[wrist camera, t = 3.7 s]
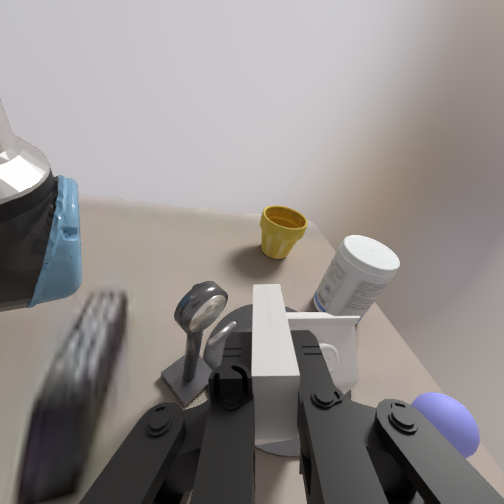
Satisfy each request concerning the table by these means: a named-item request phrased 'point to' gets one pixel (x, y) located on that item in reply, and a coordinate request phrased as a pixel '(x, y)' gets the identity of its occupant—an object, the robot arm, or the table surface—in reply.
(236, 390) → the robot arm
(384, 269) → the supplement tub
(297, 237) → the plant pot
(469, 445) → the sphere
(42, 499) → the table surface
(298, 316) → the milk carton
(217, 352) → the turntable
